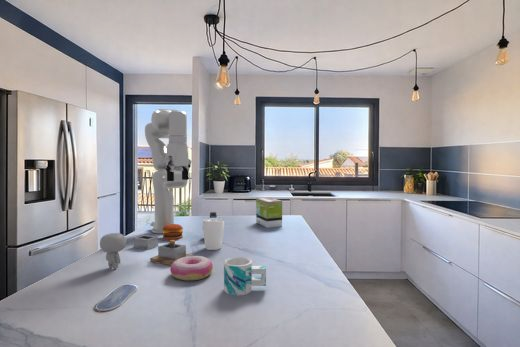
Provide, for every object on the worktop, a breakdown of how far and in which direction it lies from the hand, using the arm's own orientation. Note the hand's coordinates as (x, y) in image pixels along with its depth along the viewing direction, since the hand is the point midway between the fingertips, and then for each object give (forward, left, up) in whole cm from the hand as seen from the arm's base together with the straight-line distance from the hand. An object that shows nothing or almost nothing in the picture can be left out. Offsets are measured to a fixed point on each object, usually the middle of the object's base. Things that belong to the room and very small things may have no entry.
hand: (178, 180), depth 138 cm
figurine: (-1, -33, -28) cm, 44 cm away
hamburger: (-11, +9, -29) cm, 32 cm away
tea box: (+18, +57, -29) cm, 66 cm away
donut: (+27, -26, -29) cm, 47 cm away
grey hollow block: (-11, -8, -28) cm, 31 cm away
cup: (+16, +3, -28) cm, 33 cm away
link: (+11, -17, -27) cm, 34 cm away
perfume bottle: (+6, +18, -29) cm, 34 cm away
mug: (+48, -29, -29) cm, 63 cm away
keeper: (+11, -17, -28) cm, 35 cm away
